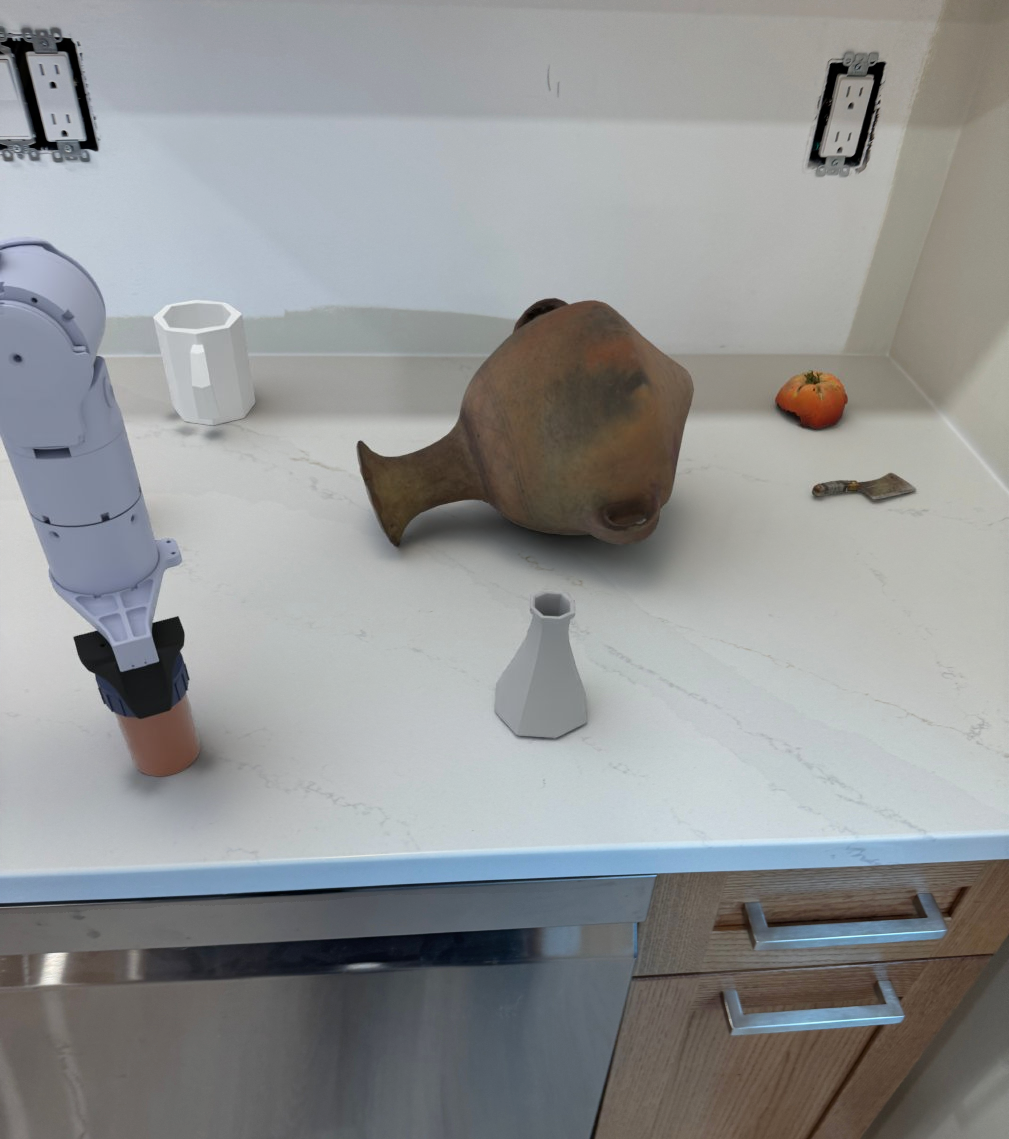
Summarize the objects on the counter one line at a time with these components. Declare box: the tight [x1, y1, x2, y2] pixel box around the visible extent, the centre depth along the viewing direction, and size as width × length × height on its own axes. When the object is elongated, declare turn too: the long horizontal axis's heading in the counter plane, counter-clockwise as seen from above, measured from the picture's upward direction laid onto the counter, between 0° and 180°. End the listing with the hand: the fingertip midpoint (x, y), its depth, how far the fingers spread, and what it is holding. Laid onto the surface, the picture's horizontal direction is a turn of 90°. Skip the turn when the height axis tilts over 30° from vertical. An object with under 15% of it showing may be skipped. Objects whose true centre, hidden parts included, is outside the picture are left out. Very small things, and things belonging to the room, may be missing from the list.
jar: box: [113, 691, 202, 777], centre depth 59 cm, size 5×5×8 cm
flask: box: [494, 588, 588, 739], centre depth 64 cm, size 7×7×10 cm
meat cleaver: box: [811, 472, 917, 500], centre depth 91 cm, size 12×1×5 cm
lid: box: [94, 651, 191, 718], centre depth 57 cm, size 5×5×2 cm
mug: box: [152, 299, 256, 426], centre depth 92 cm, size 12×9×10 cm
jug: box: [355, 297, 695, 547], centre depth 78 cm, size 20×20×30 cm
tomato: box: [774, 367, 849, 430], centre depth 102 cm, size 8×7×7 cm
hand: (142, 677), depth 57 cm, fingers open, 6 cm apart
